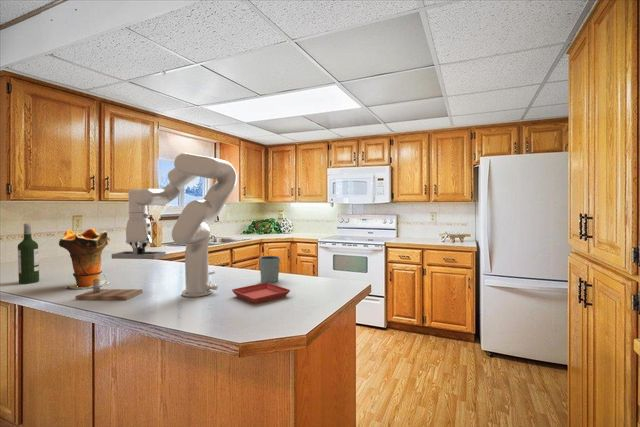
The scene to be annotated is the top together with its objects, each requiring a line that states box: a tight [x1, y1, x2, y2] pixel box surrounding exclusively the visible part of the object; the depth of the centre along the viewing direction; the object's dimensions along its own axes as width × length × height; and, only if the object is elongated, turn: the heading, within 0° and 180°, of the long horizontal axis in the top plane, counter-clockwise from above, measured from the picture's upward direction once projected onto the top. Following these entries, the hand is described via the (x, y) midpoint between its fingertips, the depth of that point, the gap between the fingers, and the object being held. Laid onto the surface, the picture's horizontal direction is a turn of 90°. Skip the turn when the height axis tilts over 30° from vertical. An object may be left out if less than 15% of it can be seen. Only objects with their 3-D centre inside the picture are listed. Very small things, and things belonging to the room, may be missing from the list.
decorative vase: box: [58, 227, 111, 290], centre depth 163 cm, size 21×23×28 cm
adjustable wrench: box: [208, 270, 216, 276], centre depth 179 cm, size 25×6×2 cm, turn 167°
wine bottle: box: [17, 222, 40, 285], centre depth 170 cm, size 8×8×30 cm
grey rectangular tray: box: [111, 245, 167, 260], centre depth 152 cm, size 20×9×5 cm, turn 85°
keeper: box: [75, 278, 144, 301], centre depth 143 cm, size 22×11×8 cm, turn 87°
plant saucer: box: [231, 282, 291, 305], centre depth 140 cm, size 18×18×3 cm
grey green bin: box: [259, 255, 281, 284], centre depth 168 cm, size 10×10×12 cm
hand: (139, 256), depth 152 cm, fingers closed on grey rectangular tray
